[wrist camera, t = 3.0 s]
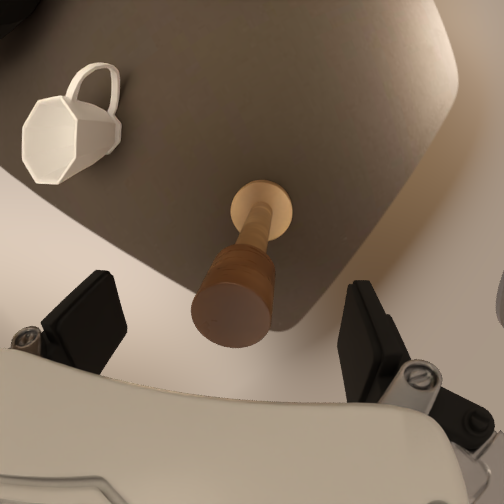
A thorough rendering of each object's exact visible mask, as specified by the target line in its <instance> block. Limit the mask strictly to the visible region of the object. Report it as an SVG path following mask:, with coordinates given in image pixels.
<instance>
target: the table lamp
mask: <svg viewBox="0 0 504 504" xmlns="http://www.w3.org/2000/svg"><path fill="white" fill-rule="evenodd" d="M39 1H40V0H0V39H2V38H3V37H4V36H5V35H7V34H8V33H9V32H10V31H12V30H13V29H14V28H15V27H16V26H17V25H19V24H20V23H21V22H22V21H23V20H24V19H26V18H27V17H28V16H29V15H30V14H32V12H33V11H34V9H35V7H36V6H37V4H38V3H39Z"/></svg>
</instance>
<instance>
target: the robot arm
mask: <svg viewBox="0 0 504 504" xmlns="http://www.w3.org/2000/svg"><path fill="white" fill-rule="evenodd" d="M41 325H42V327H43V329H44V331H43V332H42V333H41V331H40V329H39V328H37V327H35V326H30V327H26V328H23V329H21V330H20V331H18V332H17V333H16V334H15V336H14V337H13V339H12V342H11V348H8V349H6V348H5V349H4V348H3V349H0V504H504V433H503V432H502V431H501V430H500V431H499V432H498V433H497V432H496V431H494V427H495V424H494V419H493V417H492V415H491V414H490V413H489V411H488V410H486V409H485V408H483V407H481V406H479V405H477V404H475V403H473V402H471V401H469V400H467V399H465V398H463V397H461V396H459V395H457V394H455V393H453V392H451V391H449V390H447V389H445V388H443V387H441V384H442V375H441V373H440V371H439V370H438V368H437V367H436V366H434V365H433V364H431V363H430V362H428V361H424V360H417V359H415V360H411V358H410V356H409V354H408V351H407V349H406V347H405V345H404V342H403V340H402V338H401V336H400V334H399V332H398V329H397V327H396V325H395V323H394V321H393V319H392V317H391V316H390V315H389V314H386V313H385V311H384V309H383V307H382V305H381V303H380V301H379V299H378V297H377V295H376V293H375V291H374V289H373V287H372V285H371V283H370V281H367V280H355V281H354V282H353V284H349V285H348V288H347V295H346V300H345V306H344V311H343V317H342V322H341V327H340V332H339V337H338V343H337V348H338V354H339V358H340V364H341V369H342V375H343V380H344V386H345V392H346V398H347V403H297V402H271V401H270V402H269V401H253V400H240V399H229V398H220V397H210V396H202V395H195V394H188V393H182V392H176V391H170V390H164V389H159V388H154V387H149V386H144V385H139V384H134V383H129V382H125V381H121V380H117V379H112V378H109V377H105V376H101V375H100V373H101V372H102V370H103V369H104V367H105V365H106V364H107V362H108V361H109V359H110V358H111V356H112V354H113V353H114V352H115V350H116V349H117V347H118V345H119V344H120V343H121V341H122V340H123V338H124V337H125V335H126V333H127V324H126V321H125V317H124V314H123V311H122V307H121V303H120V300H119V296H118V292H117V288H116V284H115V281H114V277H113V275H111V274H110V272H109V271H105V270H96V271H94V272H93V273H92V274H91V275H90V276H89V277H88V278H86V279H85V280H84V281H83V282H82V283H81V284H80V285H79V286H78V287H77V288H75V289H74V290H73V291H72V292H71V293H70V294H69V295H68V296H67V297H66V298H65V299H64V300H63V301H62V302H61V303H60V304H59V305H58V306H57V307H55V308H54V309H53V311H52V312H50V313H49V314H48V315H47V316H46V318H44V319H43V320H42V321H41Z"/></svg>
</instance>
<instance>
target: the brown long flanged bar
mask: <svg viewBox="0 0 504 504" xmlns="http://www.w3.org/2000/svg"><path fill="white" fill-rule="evenodd" d="M231 218H232V221H233V224H234V225H235V227H236V228H237V230H238V231H239V232H240V234H239V236H238V239H237V241H236V243H235V244H234V245H231V246H228V247H226V248H224V249H223V250H222V251H220V252H219V253H218V255H217V256H216V258H215V259H214V261H213V263H212V265H211V267H210V269H209V271H208V272H207V274H206V276H205V278H204V280H203V282H202V284H201V286H200V288H199V290H198V291H197V293H196V295H195V297H194V300H193V302H192V305H191V315H192V319H193V322H194V324H195V326H196V328H197V329H198V331H199V332H200V333H201V334H202V335H203V336H204V337H206V338H207V339H209V340H210V341H212V342H213V343H216V344H218V345H221V346H224V347H230V348H242V347H248V346H251V345H253V344H255V343H257V342H259V341H260V340H261V339H263V338H264V336H265V335H266V334H267V333H268V331H269V329H270V326H271V320H272V309H273V297H274V286H275V267H274V264H273V262H272V260H271V259H270V257H269V256H268V255H267V254H266V251H267V245H268V241H270V240H273V239H276V238H278V237H279V236H281V235H282V234H283V233H284V232H285V231H286V230H287V228H288V227H289V225H290V223H291V220H292V203H291V200H290V197H289V195H288V194H287V192H286V191H285V190H284V189H283V188H282V187H281V186H280V185H278V184H276V183H274V182H272V181H268V180H256V181H252V182H250V183H247V184H246V185H244V186H243V187H242V188H241V189H240V190H239V191H238V192H237V194H236V195H235V197H234V199H233V201H232V204H231Z"/></svg>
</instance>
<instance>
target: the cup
mask: <svg viewBox="0 0 504 504" xmlns="http://www.w3.org/2000/svg"><path fill="white" fill-rule="evenodd" d="M102 68H108V69H109V70H110V72H111V79H112V90H111V101H110V107H109V109H108V111H107V112H106V111H105V110H103V109H101V108H99V107H98V106H96V105H93V104H90V103H86V102H82V101H79V100H77V95H78V92H79V88H80V85H81V82H82V81H83V80H84V78H85V77H86V76H87V75H89V74H90V73H92V72H93V71H95V70H96V69H102ZM119 94H120V76H119V70H118V69H117V68H116V67H115V66H114V65H111V64H108V63H100V62H99V63H94V64H89V65H87V66H86V67H84V68H83V69H81V70H80V71H79V72H78V73H77V74H76V75H75V77H74V78H73V79H72V81H71V83H70V86H69V88H68V90H67V93H66V97H65V96H56V97H51V98H46V99H42V100H38V101H37V103H36V104H35V106H34V108H33V109H32V111H31V113H30V114H29V116H28V118H27V120H26V122H25V123H24V125H23V127H22V161H23V162H24V164H25V166H26V167H27V169H28V171H29V172H30V174H31V176H32V177H33V179H34V180H35V182H36V183H40V184H60V183H61V182H63V181H65V180H66V179H68V178H70V177H71V176H73V175H75V174H76V173H78V172H80V171H82V170H84V169H85V168H87V167H89V166H91V165H93V164H94V163H95V162H97V161H98V160H99V159H101V158H102V157H103V156H104V155H105V154H110V153H111V152H112V151H113V150H114V149H115V148H116V146H117V145H118V144H119V143H120V142H121V128H122V124H121V122H120V121H119V120H118V119H117V117H116V116H115V113H116V110H117V108H118V102H119Z"/></svg>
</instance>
